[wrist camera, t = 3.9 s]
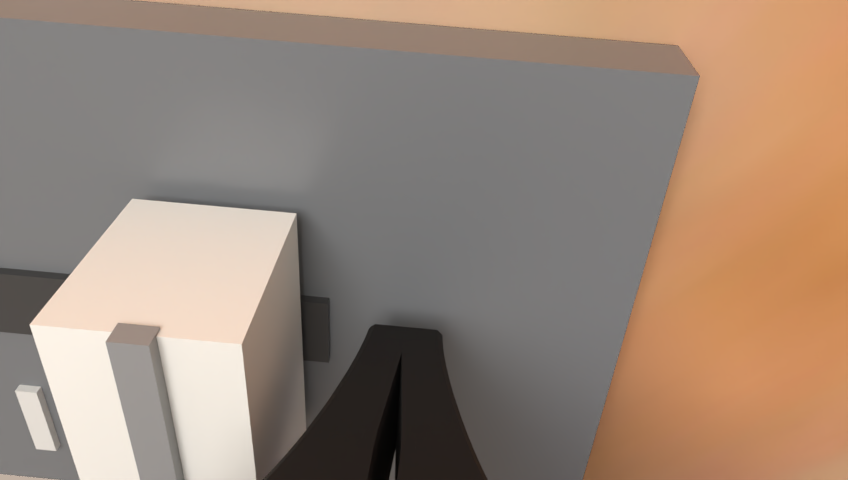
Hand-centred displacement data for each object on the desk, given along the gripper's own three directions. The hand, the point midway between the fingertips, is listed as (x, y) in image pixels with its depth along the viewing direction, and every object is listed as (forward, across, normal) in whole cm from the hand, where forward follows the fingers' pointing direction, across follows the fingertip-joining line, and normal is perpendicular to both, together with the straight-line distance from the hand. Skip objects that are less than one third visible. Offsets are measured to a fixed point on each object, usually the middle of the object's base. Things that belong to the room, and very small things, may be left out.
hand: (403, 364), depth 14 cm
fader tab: (+1, +4, 0) cm, 4 cm away
